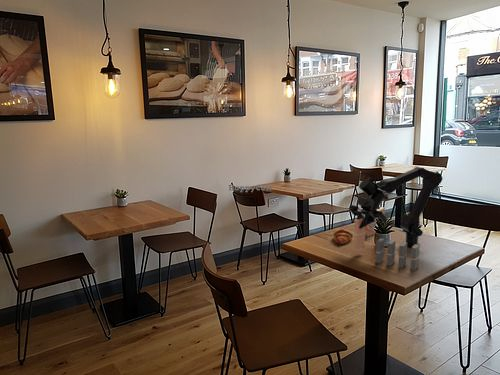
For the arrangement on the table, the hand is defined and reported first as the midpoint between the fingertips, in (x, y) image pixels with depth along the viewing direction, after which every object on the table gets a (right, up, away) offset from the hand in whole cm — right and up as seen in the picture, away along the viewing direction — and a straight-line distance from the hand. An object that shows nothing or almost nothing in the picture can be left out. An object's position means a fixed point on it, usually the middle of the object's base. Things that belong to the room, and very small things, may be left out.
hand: (357, 227), depth 180 cm
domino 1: (+1, -10, +2) cm, 10 cm away
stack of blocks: (+19, -6, +39) cm, 44 cm away
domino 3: (+12, -15, -10) cm, 21 cm away
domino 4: (+16, -15, -13) cm, 25 cm away
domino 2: (+8, -15, -7) cm, 18 cm away
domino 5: (+20, -16, -16) cm, 30 cm away
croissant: (-1, -9, +25) cm, 27 cm away
